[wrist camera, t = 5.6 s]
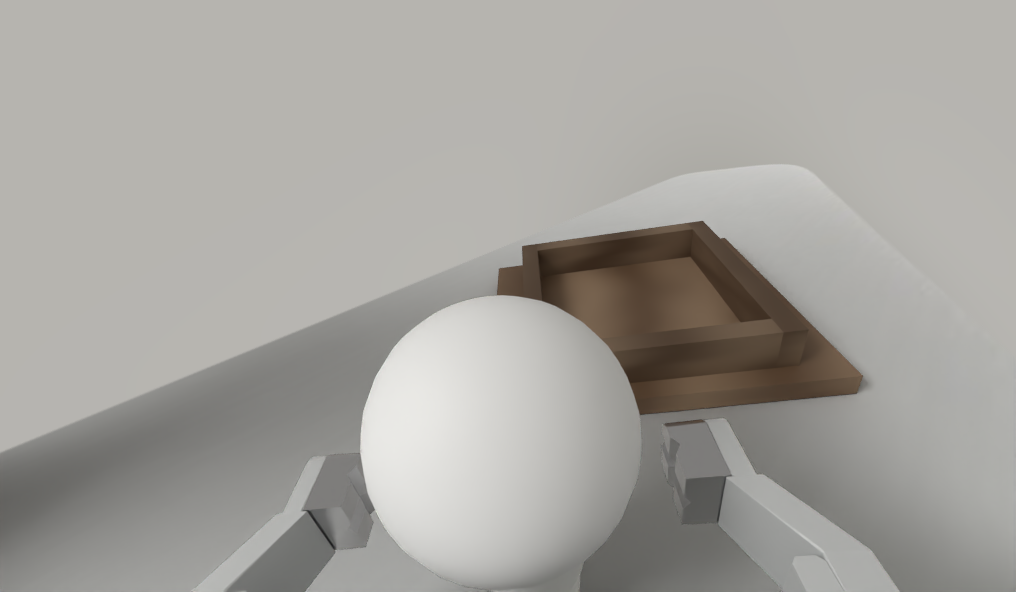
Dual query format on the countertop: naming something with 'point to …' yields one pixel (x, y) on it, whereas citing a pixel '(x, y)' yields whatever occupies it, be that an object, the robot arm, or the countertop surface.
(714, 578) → the countertop surface
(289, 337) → the countertop surface
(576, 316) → the brown rimmed tray
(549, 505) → the lightbulb
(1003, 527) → the countertop surface
